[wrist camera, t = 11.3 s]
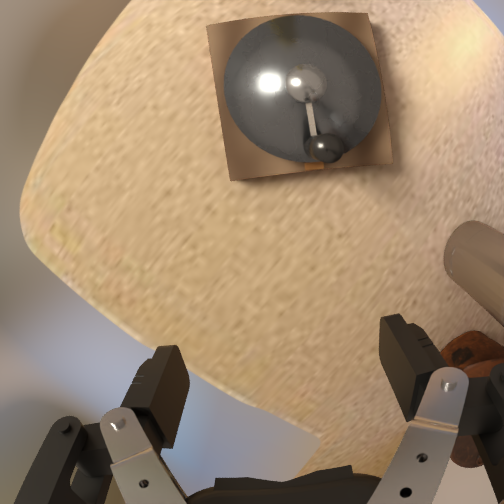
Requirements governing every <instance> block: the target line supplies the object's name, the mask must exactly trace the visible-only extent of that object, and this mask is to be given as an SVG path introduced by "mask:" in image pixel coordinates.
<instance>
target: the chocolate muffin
mask: <svg viewBox="0 0 504 504" xmlns="http://www.w3.org/2000/svg"><path fill="white" fill-rule="evenodd" d="M440 354H441V355H442V357H443V358H444V360H445V361H446V363H447V364H448V366H449V367H454V368H457V369H460V370H462V371H463V372H464V373H465V374H466V375H467V377H469V378H474V377H486V376H489V375H490V372H491V370H492V368H493V367H494V366H496V365H497V364H500V363H504V347H503V346H502V345H500V344H498V343H497V342H495V341H493V340H492V339H490V338H488V337H487V336H485V335H484V334H483V333H481V332H479V331H469V332H466V333H464V334H462V335H460V336H459V337H457V338H455V339H454V340H452V341H451V342H450V343H449V344H448V345H447V346H446V347H445V348H444V349H443V350H442V351H441V353H440ZM450 458H451V460H452V461H453V462H454V463H456V464H457V465H459V466H461V467H465V468H475V467H479V466H482V465H484V464H483V462H482V459H481V457H480V454H479V452H478V450H477V447H476V445H475V443H474V441H473V438H472V436H471V435H468V436H457V437H456V440H455V443H454V447H453V450H452V453H451V456H450Z"/></svg>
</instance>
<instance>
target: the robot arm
mask: <svg viewBox="0 0 504 504" xmlns="http://www.w3.org/2000/svg"><path fill="white" fill-rule="evenodd" d="M444 265H445V270H446V272H447V274H448V275H449V277H450V278H451V279H452V280H453V281H455V282H456V283H457V284H458V285H459V286H460V287H461V288H462V289H464V290H465V291H466V292H467V293H468V294H469V295H470V296H471V297H472V298H473V299H475V300H476V301H477V302H478V303H479V304H480V305H481V306H482V307H483V308H484V309H485V310H486V311H487V312H489V313H490V314H491V315H492V316H493V317H494V318H495V319H496V320H497V321H498V322H499V323H500V324H501V325H502V326H503V327H504V234H503V233H501V232H499V231H497V230H496V229H493V228H491V227H489V226H487V225H485V224H483V223H481V222H479V221H468V222H466V223H463V224H462V225H460V226H459V227H458V228H457V229H456V230H455V231H454V232H453V234H452V235H451V236H450V238H449V240H448V242H447V245H446V248H445V253H444ZM379 356H380V361H381V364H382V366H383V368H384V371H385V373H386V375H387V377H388V380H389V382H390V384H391V386H392V389H393V391H394V393H395V396H396V398H397V400H398V403H399V405H400V407H401V410H402V412H403V415H404V417H405V420H406V422H409V421H411V422H410V424H409V426H408V428H407V430H406V433H405V435H404V437H403V439H402V441H401V443H400V445H399V447H398V449H397V451H396V453H395V455H394V457H393V459H392V461H391V463H390V465H389V467H388V468H387V470H386V472H385V474H384V476H383V478H379V477H376V476H372V475H368V474H359V473H353V471H352V466H351V465H348V466H343V467H337V468H332V469H325V470H319V471H315V472H313V473H310V474H307V475H304V476H301V477H298V478H295V479H292V480H289V481H285V482H277V481H268V480H262V479H255V478H249V477H244V478H215V485H214V487H210V488H207V489H203V490H201V491H198V492H196V493H194V494H192V495H191V496H189V497H188V496H187V495H186V494H185V492H184V491H183V489H182V488H181V487H180V485H179V484H178V482H177V480H176V479H175V478H174V476H173V474H172V473H171V471H170V470H169V468H168V467H167V465H166V463H165V462H164V460H163V458H162V457H161V455H160V453H161V450H162V448H169V449H171V448H172V449H173V446H174V442H175V438H176V434H177V431H178V427H179V423H180V420H181V416H182V413H183V409H184V405H185V402H186V398H187V394H188V391H189V386H190V380H189V375H188V372H187V369H186V366H185V364H184V361H183V358H182V355H181V353H180V350H179V348H178V346H177V345H169V346H158V347H157V349H156V351H155V353H154V355H153V358H152V359H147V360H146V361H145V362H144V363H143V364H142V365H141V366H140V367H139V369H138V371H137V373H136V375H135V376H136V377H134V379H133V381H132V384H131V385H130V387H129V389H128V392H127V393H126V396H125V398H124V400H123V402H122V404H121V406H120V407H119V408H115V409H112V410H110V411H109V412H107V413H106V414H105V415H104V416H103V417H102V419H101V421H100V423H94V424H89V425H82V423H81V422H80V421H79V419H78V418H76V417H73V416H66V417H63V418H61V419H59V420H57V421H56V422H55V423H54V424H53V426H52V427H51V429H50V431H49V433H48V435H47V436H46V438H45V440H44V442H43V444H42V446H41V448H40V450H39V452H38V454H37V456H36V458H35V460H34V462H33V464H32V466H31V468H30V470H29V472H28V474H27V476H26V478H25V480H24V482H23V485H22V487H21V489H20V491H19V493H18V495H17V498H16V500H15V502H14V504H104V503H105V500H106V496H107V492H108V490H109V486H110V483H111V480H112V476H113V475H114V477H115V480H116V482H117V485H118V487H119V489H120V491H121V494H122V496H123V498H124V500H125V503H126V504H432V501H433V499H434V497H435V495H436V492H437V490H438V487H439V485H440V483H441V480H442V477H443V475H444V472H445V469H446V467H447V464H448V461H449V458H450V456H451V453H452V450H453V447H454V443H455V440H456V437H457V436H468V435H471V436H472V438H473V441H474V443H475V445H476V447H477V450H478V452H479V454H480V457H481V459H482V462H483V464H484V466H485V469H486V471H487V474H488V477H489V479H490V482H491V485H492V487H493V490H494V493H495V495H496V498H497V501H498V504H504V363H500V364H497V365H496V366H494V367H493V368H492V370H491V372H490V375H489V376H486V377H474V378H469V377H467V375H466V374H465V373H464V372H463V371H462V370H460V369H457V368H454V367H449V366H448V364H447V363H446V361H445V360H444V358H443V357H442V355H441V354H440V352H439V351H438V349H437V348H436V347H435V345H433V342H432V341H431V339H430V338H429V337H428V335H427V334H426V332H425V331H424V330H423V329H422V328H421V327H419V326H417V325H416V324H414V323H411V324H407V323H406V322H405V320H404V319H403V317H402V316H401V315H400V314H399V313H398V314H394V315H389V316H384V317H381V319H380V334H379ZM75 466H76V467H77V468H78V469H77V472H76V475H75V477H74V480H73V482H72V485H71V486H70V478H71V475H72V473H73V470H74V468H75Z"/></svg>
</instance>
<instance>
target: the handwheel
mask: <svg viewBox="0 0 504 504" xmlns="http://www.w3.org/2000/svg"><path fill="white" fill-rule="evenodd" d="M224 95H225V100H226V104H227V107H228V110H229V112H230V115H231V117H232V118H233V120H234V122H235V124H236V125H237V126H238V128H239V129H240V130H241V132H242V133H243V134H244V135H245V136H246V137H247V138H248V139H249V140H250V141H251V142H253V143H254V144H255V145H256V146H258V147H259V148H261V149H262V150H264V151H266V152H267V153H270V154H272V155H274V156H276V157H279V158H282V159H285V160H290V161H295V162H320V161H321V162H324V163H334V162H337V161H338V160H339V159H340V158H341V157H342V155H343V154H345V153H347V152H348V151H350V150H351V149H353V148H354V147H356V146H357V145H358V144H359V143H360V142H361V141H362V140H363V139H364V138H365V137H366V136H367V135H368V133H369V132H370V130H371V129H372V127H373V125H374V123H375V121H376V119H377V116H378V113H379V110H380V104H381V82H380V77H379V74H378V70H377V68H376V65H375V63H374V61H373V59H372V57H371V56H370V54H369V52H368V51H367V50H366V48H365V47H364V46H363V45H362V43H361V42H360V41H359V40H358V39H357V38H356V37H354V36H353V35H352V34H351V33H350V32H348V31H347V30H345V29H344V28H342V27H340V26H338V25H336V24H334V23H332V22H330V21H327V20H324V19H321V18H317V17H312V16H304V15H291V16H284V17H279V18H275V19H272V20H269V21H267V22H264V23H262V24H260V25H259V26H257V27H255V28H254V29H252V30H251V31H250V32H248V33H247V34H246V35H245V36H244V37H243V38H242V39H241V40H240V41H239V42H238V44H237V45H236V47H235V48H234V49H233V51H232V53H231V55H230V57H229V59H228V62H227V65H226V69H225V74H224Z"/></svg>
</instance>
